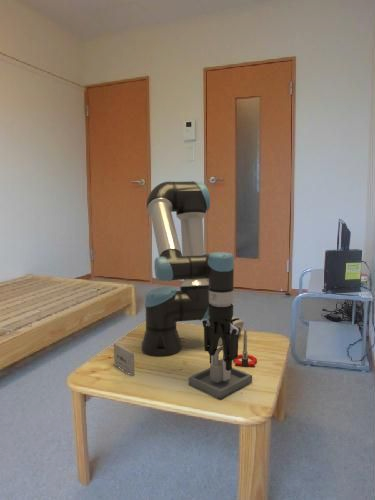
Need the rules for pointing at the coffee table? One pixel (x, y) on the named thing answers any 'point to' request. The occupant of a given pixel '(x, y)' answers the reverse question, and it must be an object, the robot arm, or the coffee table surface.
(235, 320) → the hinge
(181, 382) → the coffee table surface
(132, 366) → the cassette
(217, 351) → the padlock
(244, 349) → the tow hook
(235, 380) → the tray
